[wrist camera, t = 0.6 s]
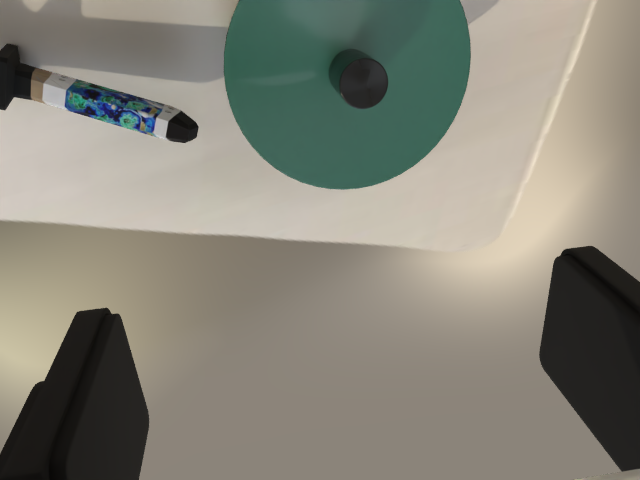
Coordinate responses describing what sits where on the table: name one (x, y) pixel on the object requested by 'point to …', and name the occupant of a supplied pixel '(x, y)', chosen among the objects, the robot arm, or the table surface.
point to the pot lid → (346, 84)
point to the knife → (90, 100)
